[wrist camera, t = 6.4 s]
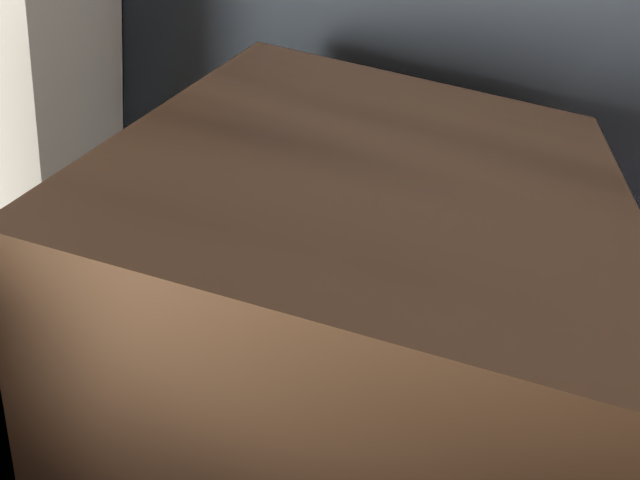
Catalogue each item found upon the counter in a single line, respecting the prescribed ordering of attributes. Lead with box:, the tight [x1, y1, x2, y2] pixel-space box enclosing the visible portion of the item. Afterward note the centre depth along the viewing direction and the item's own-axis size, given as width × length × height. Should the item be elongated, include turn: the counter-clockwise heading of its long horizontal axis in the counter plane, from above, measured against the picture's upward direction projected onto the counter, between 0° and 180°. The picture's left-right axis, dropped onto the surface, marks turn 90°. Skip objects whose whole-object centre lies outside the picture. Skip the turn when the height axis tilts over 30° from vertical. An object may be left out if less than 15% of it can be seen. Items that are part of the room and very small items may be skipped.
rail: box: [0, 0, 123, 209], centre depth 11 cm, size 24×2×2 cm, turn 171°
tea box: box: [0, 42, 640, 480], centre depth 8 cm, size 7×5×6 cm
